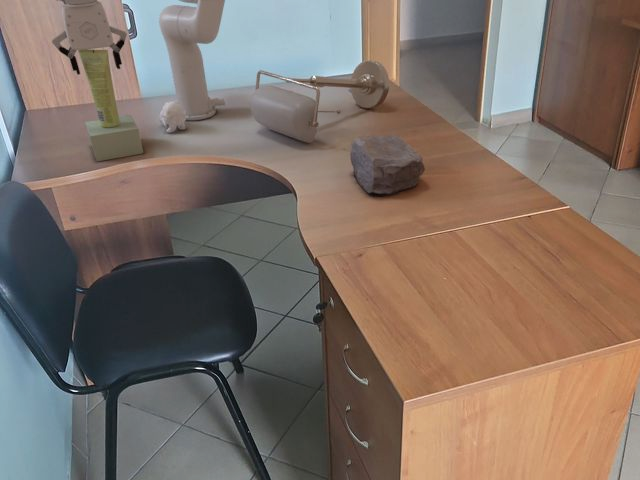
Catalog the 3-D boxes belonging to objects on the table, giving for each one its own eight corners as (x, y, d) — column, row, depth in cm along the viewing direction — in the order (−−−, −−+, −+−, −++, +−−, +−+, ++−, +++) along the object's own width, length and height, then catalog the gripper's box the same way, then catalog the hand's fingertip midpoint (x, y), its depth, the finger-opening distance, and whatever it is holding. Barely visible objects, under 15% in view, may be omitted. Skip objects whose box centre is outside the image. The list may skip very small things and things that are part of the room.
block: (136, 138, 168) (130, 114, 164) (143, 153, 159) (138, 128, 155) (92, 146, 164) (85, 121, 160) (96, 161, 155) (89, 136, 151)
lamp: (335, 123, 200) (237, 125, 171) (345, 54, 191) (244, 42, 162) (395, 143, 185) (299, 149, 156) (409, 68, 176) (310, 59, 147)
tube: (118, 120, 161) (100, 45, 150) (125, 125, 158) (107, 49, 147) (97, 124, 158) (77, 49, 147) (104, 129, 155) (84, 53, 144)
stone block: (436, 155, 135) (379, 151, 129) (425, 202, 140) (369, 201, 134) (403, 134, 148) (349, 130, 142) (393, 177, 153) (341, 175, 147)
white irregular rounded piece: (163, 105, 165) (149, 99, 174) (170, 135, 169) (156, 127, 178) (184, 101, 168) (169, 95, 177) (190, 130, 172) (176, 123, 181)
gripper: (40, 3, 134) (63, 79, 144) (119, -4, 141) (136, 69, 150) (39, -2, 140) (61, 71, 150) (115, -9, 146) (131, 62, 156)
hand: (98, 70), depth 150 cm, fingers open, 9 cm apart
